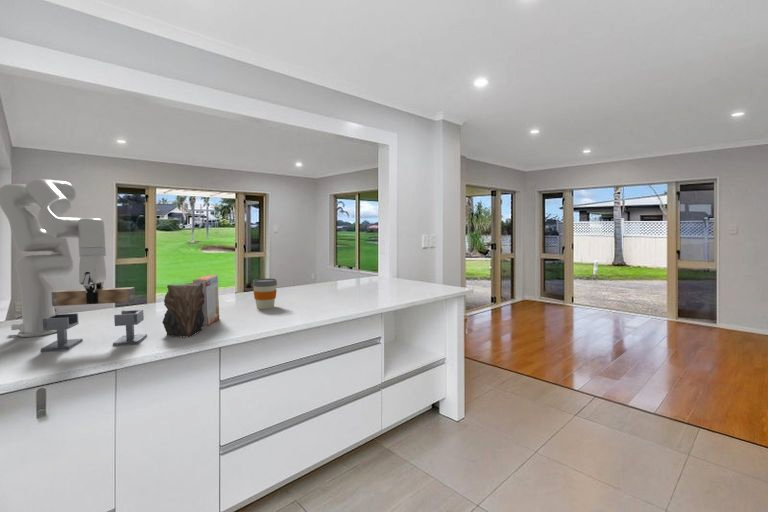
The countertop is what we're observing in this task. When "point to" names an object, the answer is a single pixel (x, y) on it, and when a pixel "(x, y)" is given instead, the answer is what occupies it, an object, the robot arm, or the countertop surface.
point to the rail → (103, 296)
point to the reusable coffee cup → (265, 293)
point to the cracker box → (209, 298)
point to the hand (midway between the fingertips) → (95, 301)
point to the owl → (184, 309)
